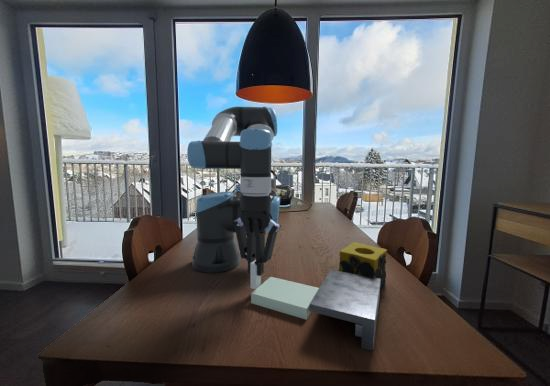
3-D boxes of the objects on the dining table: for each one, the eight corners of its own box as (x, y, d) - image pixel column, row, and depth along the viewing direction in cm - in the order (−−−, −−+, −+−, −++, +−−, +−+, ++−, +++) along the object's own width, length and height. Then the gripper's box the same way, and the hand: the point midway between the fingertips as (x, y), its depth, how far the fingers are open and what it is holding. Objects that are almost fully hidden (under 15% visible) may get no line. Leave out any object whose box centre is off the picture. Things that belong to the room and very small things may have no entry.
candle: (351, 273, 79) (353, 241, 78) (386, 283, 73) (388, 248, 72) (336, 285, 72) (337, 250, 70) (373, 297, 65) (376, 259, 64)
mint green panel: (251, 305, 62) (251, 293, 62) (270, 287, 71) (270, 276, 71) (306, 321, 56) (306, 308, 56) (320, 299, 65) (320, 288, 64)
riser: (308, 332, 52) (309, 303, 51) (329, 291, 68) (330, 269, 67) (372, 351, 47) (374, 320, 46) (379, 302, 63) (380, 278, 62)
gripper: (224, 194, 63) (225, 287, 66) (272, 197, 57) (272, 299, 60) (241, 191, 70) (242, 275, 72) (286, 194, 64) (285, 285, 67)
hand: (255, 286), depth 66 cm, fingers closed
